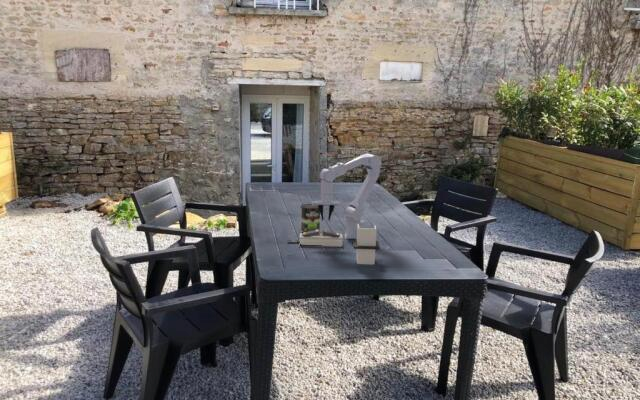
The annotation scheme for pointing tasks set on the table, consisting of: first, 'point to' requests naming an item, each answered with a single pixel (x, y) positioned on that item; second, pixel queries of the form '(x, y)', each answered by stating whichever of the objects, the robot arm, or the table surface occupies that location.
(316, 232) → the rocker
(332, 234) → the rocker
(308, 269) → the table surface
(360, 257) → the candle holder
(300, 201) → the table surface
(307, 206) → the coffee can
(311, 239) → the rocker switch box
